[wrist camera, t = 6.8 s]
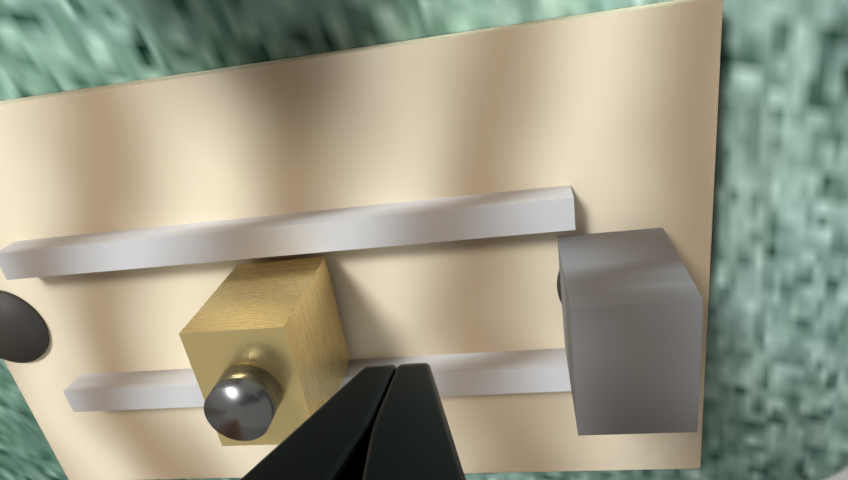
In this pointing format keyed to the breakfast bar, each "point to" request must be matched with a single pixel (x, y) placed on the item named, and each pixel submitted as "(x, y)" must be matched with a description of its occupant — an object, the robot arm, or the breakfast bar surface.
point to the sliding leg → (267, 349)
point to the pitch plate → (383, 237)
